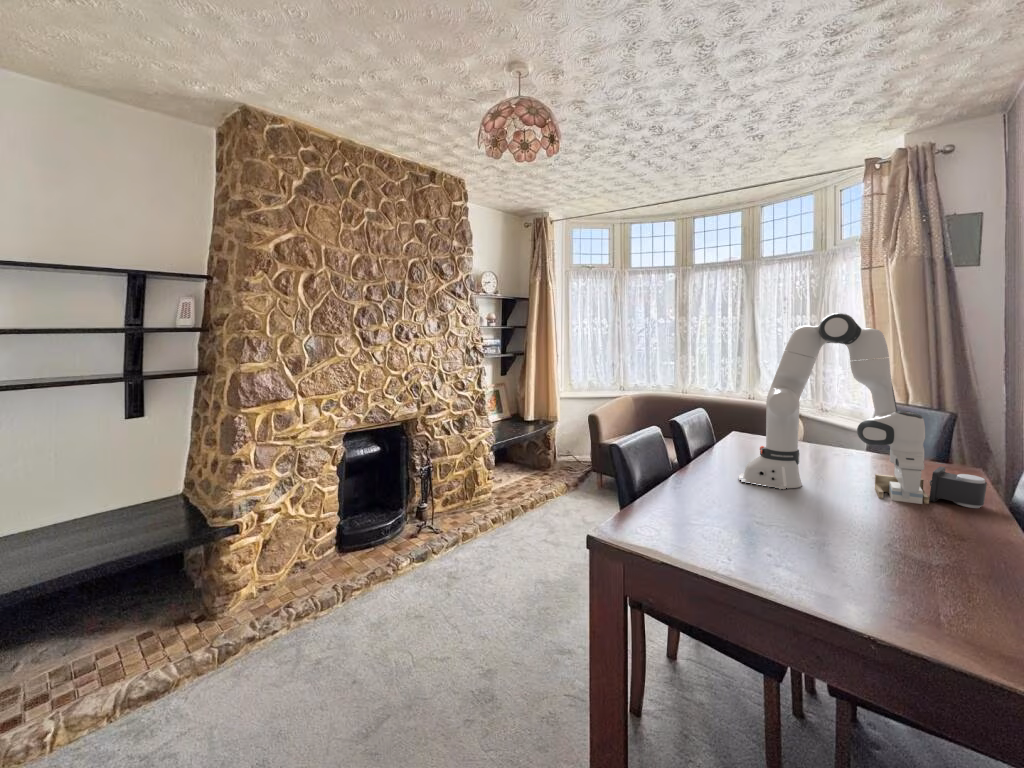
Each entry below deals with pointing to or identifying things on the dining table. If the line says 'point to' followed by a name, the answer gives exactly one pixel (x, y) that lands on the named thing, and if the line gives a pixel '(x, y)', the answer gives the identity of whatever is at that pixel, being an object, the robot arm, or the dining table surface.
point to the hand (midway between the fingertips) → (905, 497)
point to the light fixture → (958, 488)
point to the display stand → (883, 486)
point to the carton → (896, 496)
